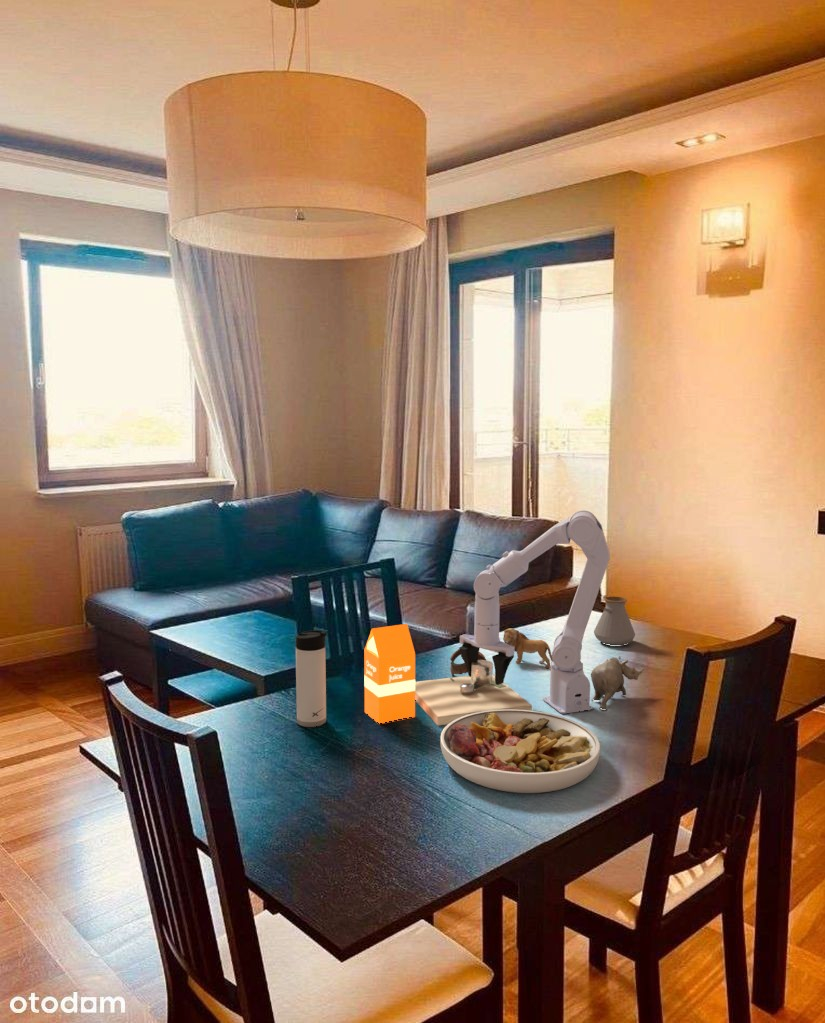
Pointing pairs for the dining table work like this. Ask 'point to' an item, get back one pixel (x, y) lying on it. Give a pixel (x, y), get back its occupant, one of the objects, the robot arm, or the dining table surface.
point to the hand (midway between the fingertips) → (485, 679)
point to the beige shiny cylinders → (478, 676)
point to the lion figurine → (526, 645)
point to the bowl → (520, 750)
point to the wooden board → (464, 698)
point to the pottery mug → (461, 667)
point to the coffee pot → (614, 622)
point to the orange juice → (389, 674)
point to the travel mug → (311, 678)
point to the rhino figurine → (611, 678)
